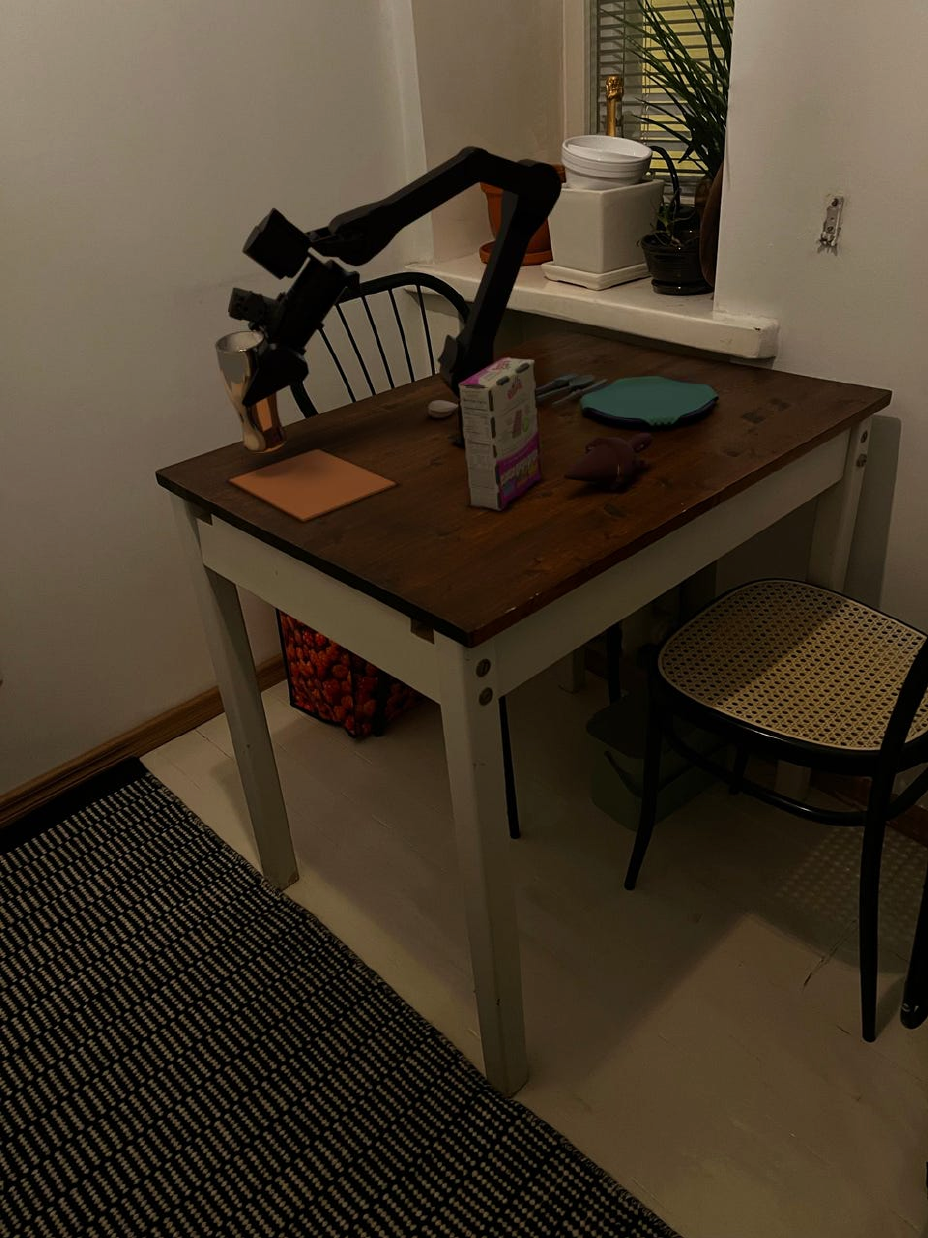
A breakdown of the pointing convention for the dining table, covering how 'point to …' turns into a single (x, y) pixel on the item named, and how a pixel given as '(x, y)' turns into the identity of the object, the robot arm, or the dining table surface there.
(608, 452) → the icecream
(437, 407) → the grey rounded piece
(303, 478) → the cloth
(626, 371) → the dining table surface
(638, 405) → the cutlery set
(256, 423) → the beer glass
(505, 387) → the candy bar box
